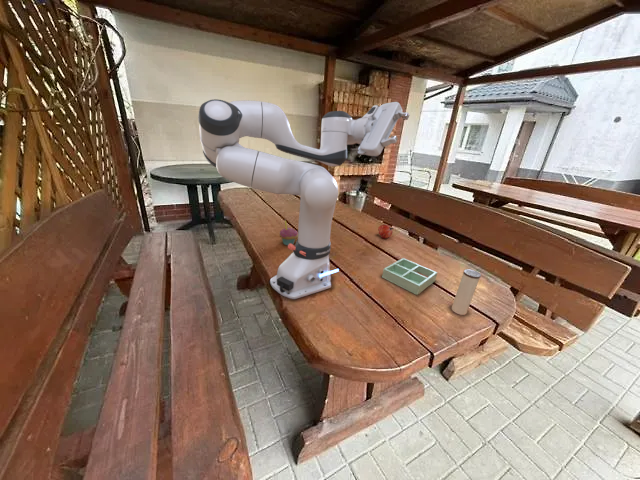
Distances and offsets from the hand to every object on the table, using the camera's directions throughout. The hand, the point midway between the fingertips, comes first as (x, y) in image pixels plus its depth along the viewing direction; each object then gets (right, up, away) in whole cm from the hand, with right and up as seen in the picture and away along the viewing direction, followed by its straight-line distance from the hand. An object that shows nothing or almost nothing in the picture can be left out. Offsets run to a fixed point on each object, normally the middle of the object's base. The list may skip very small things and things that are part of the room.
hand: (402, 127), depth 84 cm
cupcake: (-41, -38, +37) cm, 67 cm away
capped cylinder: (+18, -59, 0) cm, 62 cm away
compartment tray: (+7, -51, +15) cm, 54 cm away
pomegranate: (+6, -35, +51) cm, 62 cm away
